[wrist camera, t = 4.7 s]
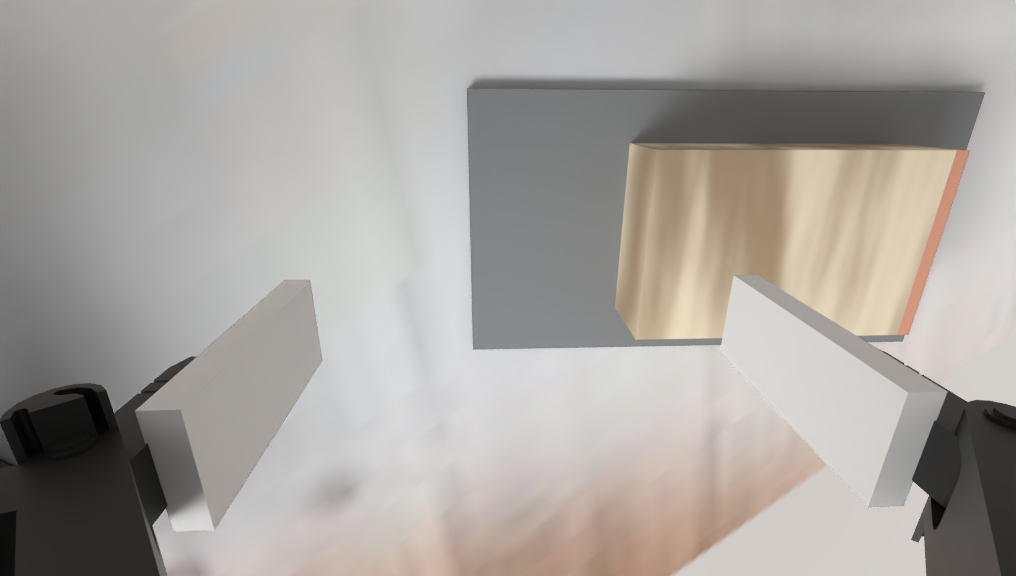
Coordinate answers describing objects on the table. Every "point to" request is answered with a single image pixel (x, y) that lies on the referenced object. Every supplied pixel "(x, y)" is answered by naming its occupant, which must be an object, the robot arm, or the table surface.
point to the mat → (602, 183)
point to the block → (781, 231)
